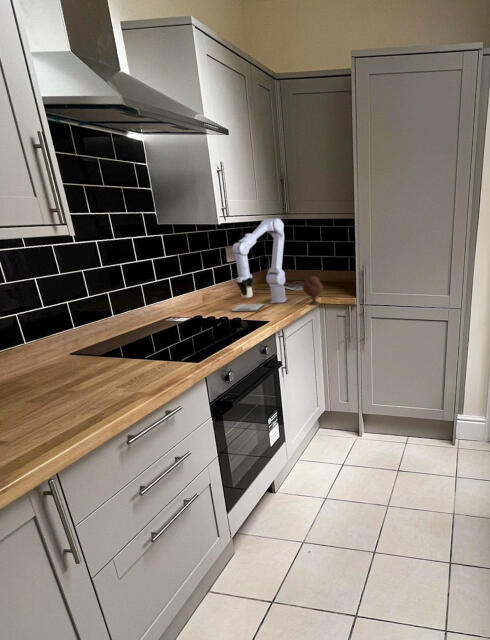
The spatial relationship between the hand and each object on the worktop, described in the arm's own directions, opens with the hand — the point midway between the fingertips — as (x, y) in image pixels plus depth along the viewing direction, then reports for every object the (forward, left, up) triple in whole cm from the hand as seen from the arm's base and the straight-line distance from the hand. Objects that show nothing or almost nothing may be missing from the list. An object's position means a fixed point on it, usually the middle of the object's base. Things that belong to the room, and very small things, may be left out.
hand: (246, 294), depth 228 cm
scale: (0, 0, -8) cm, 8 cm away
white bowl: (0, 0, -1) cm, 1 cm away
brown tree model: (-9, +34, -8) cm, 36 cm away
